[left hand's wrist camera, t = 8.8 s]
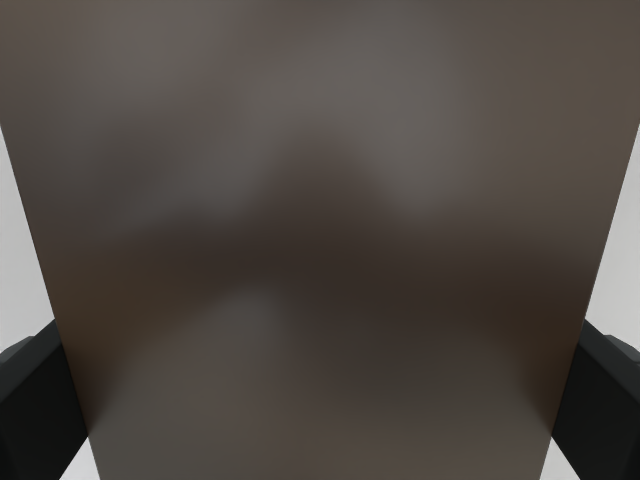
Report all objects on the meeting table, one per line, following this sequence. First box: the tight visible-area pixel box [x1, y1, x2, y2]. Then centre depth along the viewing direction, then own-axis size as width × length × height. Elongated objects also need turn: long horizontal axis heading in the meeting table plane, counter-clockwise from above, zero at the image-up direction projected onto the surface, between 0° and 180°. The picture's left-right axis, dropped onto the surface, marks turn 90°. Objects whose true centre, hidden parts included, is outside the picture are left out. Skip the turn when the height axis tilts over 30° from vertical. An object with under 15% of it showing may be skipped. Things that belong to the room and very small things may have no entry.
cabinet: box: [0, 0, 640, 480], centre depth 12 cm, size 16×11×9 cm
